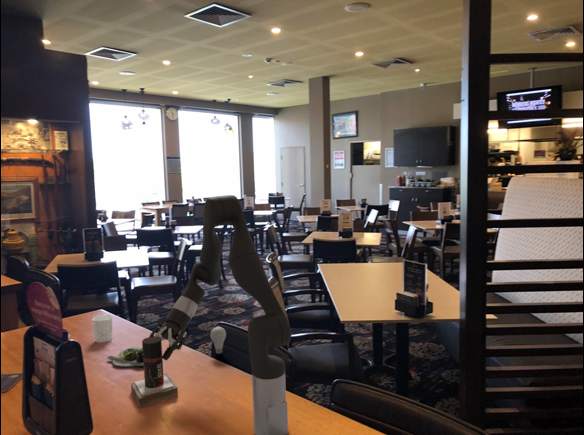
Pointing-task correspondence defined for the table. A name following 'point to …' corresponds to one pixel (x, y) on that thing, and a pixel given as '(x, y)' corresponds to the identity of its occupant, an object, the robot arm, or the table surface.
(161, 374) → the deodorant
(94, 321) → the white cup
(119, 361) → the salad plate
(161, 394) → the pedestal
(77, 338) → the table surface
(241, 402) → the table surface
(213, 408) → the table surface
